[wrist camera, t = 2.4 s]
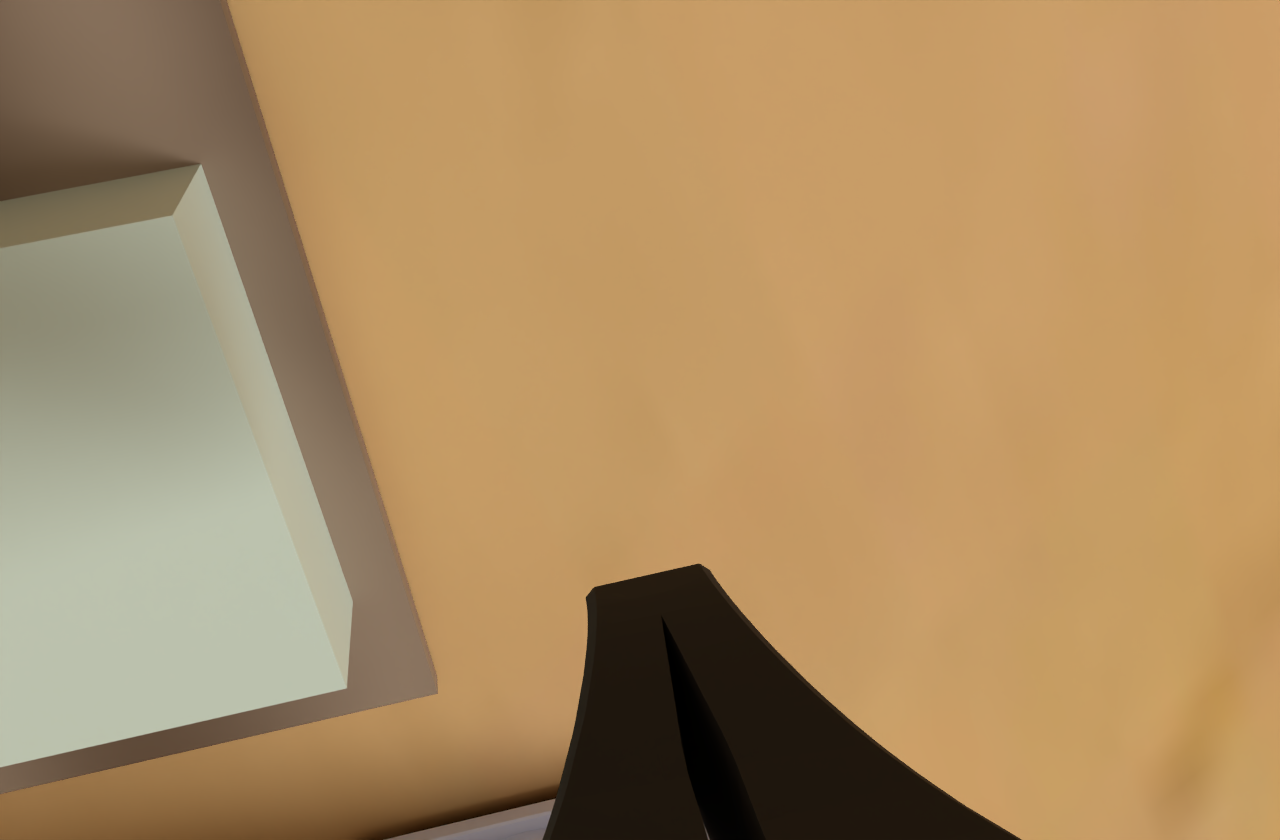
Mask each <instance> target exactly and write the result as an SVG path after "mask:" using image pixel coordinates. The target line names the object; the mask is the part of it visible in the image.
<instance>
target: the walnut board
mask: <svg viewBox="0 0 1280 840" xmlns="http://www.w3.org/2000/svg"><path fill="white" fill-rule="evenodd" d="M196 164H201V165H202V168H203V171H204V174H205V177H206V179H207V182H208V185H209V188H210V191H211V194H212V197H213V200H214V203H215V205H216V208H217V211H218V214H219V217H220V220H221V223H222V226H223V228H224V231H225V234H226V237H227V240H228V243H229V246H230V249H231V252H232V254H233V257H234V260H235V263H236V266H237V269H238V272H239V275H240V278H241V280H242V283H243V286H244V289H245V292H246V295H247V298H248V301H249V303H250V306H251V309H252V312H253V315H254V318H255V321H256V324H257V327H258V329H259V332H260V335H261V338H262V341H263V344H264V347H265V350H266V353H267V355H268V358H269V361H270V364H271V367H272V370H273V373H274V376H275V378H276V381H277V384H278V387H279V390H280V393H281V396H282V399H283V402H284V404H285V407H286V410H287V413H288V416H289V419H290V422H291V425H292V427H293V430H294V433H295V436H296V439H297V442H298V445H299V448H300V451H301V453H302V456H303V459H304V462H305V465H306V468H307V471H308V474H309V477H310V479H311V482H312V485H313V488H314V491H315V494H316V497H317V500H318V502H319V505H320V508H321V511H322V514H323V517H324V520H325V523H326V526H327V528H328V531H329V534H330V537H331V540H332V543H333V546H334V549H335V552H336V554H337V557H338V560H339V563H340V566H341V569H342V572H343V575H344V577H345V580H346V583H347V586H348V589H349V592H350V595H351V598H352V601H353V607H352V622H351V636H350V650H349V665H348V679H347V688H346V689H342V690H338V691H333V692H329V693H324V694H320V695H316V696H311V697H307V698H302V699H298V700H294V701H289V702H285V703H280V704H276V705H272V706H267V707H263V708H259V709H254V710H250V711H245V712H241V713H237V714H232V715H228V716H223V717H219V718H215V719H210V720H206V721H201V722H197V723H193V724H188V725H184V726H180V727H175V728H171V729H166V730H162V731H158V732H153V733H149V734H144V735H140V736H136V737H131V738H127V739H122V740H118V741H114V742H109V743H105V744H101V745H96V746H92V747H87V748H83V749H79V750H74V751H70V752H65V753H61V754H57V755H52V756H48V757H43V758H39V759H35V760H30V761H26V762H22V763H17V764H13V765H8V766H4V767H0V794H3V793H7V792H11V791H16V790H20V789H24V788H29V787H33V786H37V785H42V784H46V783H50V782H55V781H59V780H64V779H68V778H72V777H77V776H81V775H85V774H90V773H94V772H98V771H103V770H107V769H111V768H116V767H120V766H124V765H129V764H133V763H138V762H142V761H146V760H151V759H155V758H159V757H164V756H168V755H172V754H177V753H181V752H185V751H190V750H194V749H198V748H203V747H207V746H212V745H216V744H220V743H225V742H229V741H233V740H238V739H242V738H246V737H251V736H255V735H259V734H264V733H268V732H272V731H277V730H281V729H286V728H290V727H294V726H299V725H303V724H307V723H312V722H316V721H320V720H325V719H329V718H333V717H338V716H342V715H346V714H351V713H355V712H360V711H364V710H368V709H373V708H377V707H381V706H386V705H390V704H394V703H399V702H403V701H407V700H412V699H416V698H421V697H425V696H429V695H434V694H438V687H437V675H436V671H435V668H434V665H433V662H432V659H431V655H430V652H429V649H428V646H427V642H426V639H425V636H424V633H423V630H422V626H421V623H420V620H419V617H418V614H417V610H416V607H415V604H414V601H413V598H412V594H411V591H410V588H409V585H408V581H407V578H406V575H405V572H404V569H403V565H402V562H401V559H400V556H399V553H398V549H397V546H396V543H395V540H394V537H393V533H392V530H391V527H390V524H389V520H388V517H387V514H386V511H385V508H384V504H383V501H382V498H381V495H380V492H379V488H378V485H377V482H376V479H375V476H374V472H373V469H372V466H371V463H370V459H369V456H368V453H367V450H366V447H365V443H364V440H363V437H362V434H361V431H360V427H359V424H358V421H357V418H356V415H355V411H354V408H353V405H352V402H351V398H350V395H349V392H348V389H347V386H346V382H345V379H344V376H343V373H342V370H341V366H340V363H339V360H338V357H337V353H336V350H335V347H334V344H333V341H332V337H331V334H330V331H329V328H328V325H327V321H326V318H325V315H324V312H323V309H322V305H321V302H320V299H319V296H318V292H317V289H316V286H315V283H314V280H313V276H312V273H311V270H310V267H309V264H308V260H307V257H306V254H305V251H304V248H303V244H302V241H301V238H300V235H299V231H298V228H297V225H296V222H295V219H294V215H293V212H292V209H291V206H290V203H289V199H288V196H287V193H286V190H285V187H284V183H283V180H282V177H281V174H280V170H279V167H278V164H277V161H276V158H275V154H274V151H273V148H272V145H271V142H270V138H269V135H268V132H267V129H266V126H265V122H264V119H263V116H262V113H261V109H260V106H259V103H258V100H257V97H256V93H255V90H254V87H253V84H252V81H251V77H250V74H249V71H248V68H247V64H246V61H245V58H244V55H243V52H242V48H241V45H240V42H239V39H238V36H237V32H236V29H235V26H234V23H233V20H232V16H231V13H230V10H229V7H228V3H227V0H0V201H5V200H10V199H15V198H20V197H26V196H31V195H36V194H42V193H47V192H52V191H58V190H63V189H68V188H74V187H79V186H84V185H90V184H95V183H100V182H106V181H111V180H116V179H122V178H127V177H132V176H138V175H143V174H148V173H154V172H159V171H164V170H170V169H175V168H180V167H185V166H191V165H196Z"/></svg>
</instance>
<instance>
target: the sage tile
mask: <svg viewBox="0 0 1280 840" xmlns="http://www.w3.org/2000/svg"><path fill="white" fill-rule="evenodd" d="M352 607H353V601H352V598H351V595H350V592H349V589H348V586H347V583H346V580H345V577H344V575H343V572H342V569H341V566H340V563H339V560H338V557H337V554H336V552H335V549H334V546H333V543H332V540H331V537H330V534H329V531H328V528H327V526H326V523H325V520H324V517H323V514H322V511H321V508H320V505H319V502H318V500H317V497H316V494H315V491H314V488H313V485H312V482H311V479H310V477H309V474H308V471H307V468H306V465H305V462H304V459H303V456H302V453H301V451H300V448H299V445H298V442H297V439H296V436H295V433H294V430H293V427H292V425H291V422H290V419H289V416H288V413H287V410H286V407H285V404H284V402H283V399H282V396H281V393H280V390H279V387H278V384H277V381H276V378H275V376H274V373H273V370H272V367H271V364H270V361H269V358H268V355H267V353H266V350H265V347H264V344H263V341H262V338H261V335H260V332H259V329H258V327H257V324H256V321H255V318H254V315H253V312H252V309H251V306H250V303H249V301H248V298H247V295H246V292H245V289H244V286H243V283H242V280H241V278H240V275H239V272H238V269H237V266H236V263H235V260H234V257H233V254H232V252H231V249H230V246H229V243H228V240H227V237H226V234H225V231H224V228H223V226H222V223H221V220H220V217H219V214H218V211H217V208H216V205H215V203H214V200H213V197H212V194H211V191H210V188H209V185H208V182H207V179H206V177H205V174H204V171H203V168H202V165H201V164H196V165H191V166H185V167H180V168H175V169H170V170H164V171H159V172H154V173H148V174H143V175H138V176H132V177H127V178H122V179H116V180H111V181H106V182H100V183H95V184H90V185H84V186H79V187H74V188H68V189H63V190H58V191H52V192H47V193H42V194H36V195H31V196H26V197H20V198H15V199H10V200H5V201H0V767H4V766H8V765H13V764H17V763H22V762H26V761H30V760H35V759H39V758H43V757H48V756H52V755H57V754H61V753H65V752H70V751H74V750H79V749H83V748H87V747H92V746H96V745H101V744H105V743H109V742H114V741H118V740H122V739H127V738H131V737H136V736H140V735H144V734H149V733H153V732H158V731H162V730H166V729H171V728H175V727H180V726H184V725H188V724H193V723H197V722H201V721H206V720H210V719H215V718H219V717H223V716H228V715H232V714H237V713H241V712H245V711H250V710H254V709H259V708H263V707H267V706H272V705H276V704H280V703H285V702H289V701H294V700H298V699H302V698H307V697H311V696H316V695H320V694H324V693H329V692H333V691H338V690H342V689H346V688H347V679H348V665H349V650H350V636H351V622H352Z"/></svg>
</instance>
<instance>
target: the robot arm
mask: <svg viewBox="0 0 1280 840" xmlns="http://www.w3.org/2000/svg"><path fill="white" fill-rule="evenodd" d="M586 602H587V610H588V637H587V650H586V659H585V668H584V676H583V682H582V687H581V693H580V699H579V704H578V710H577V716H576V721H575V726H574V731H573V735H572V739H571V743H570V747H569V751H568V755H567V759H566V762H565V766H564V770H563V774H562V778H561V782H560V786H559V789H558V793H557V796H556V799H552V800H548V801H543V802H539V803H535V804H531V805H527V806H522V807H518V808H514V809H510V810H506V811H502V812H497V813H493V814H489V815H485V816H481V817H477V818H472V819H468V820H464V821H460V822H456V823H451V824H447V825H443V826H439V827H435V828H431V829H426V830H422V831H418V832H414V833H410V834H406V835H401V836H397V837H393V838H389V839H385V840H1021V839H1020V838H1018V837H1016V836H1015V835H1013V834H1011V833H1010V832H1008V831H1006V830H1005V829H1003V828H1001V827H1000V826H998V825H996V824H995V823H993V822H991V821H990V820H988V819H986V818H985V817H983V816H981V815H980V814H978V813H976V812H975V811H973V810H971V809H970V808H968V807H966V806H965V805H963V804H962V803H960V802H959V801H957V800H956V799H954V798H953V797H951V796H950V795H948V794H947V793H946V792H944V791H943V790H941V789H940V788H938V787H937V786H935V785H934V784H932V783H931V782H930V781H928V780H927V779H925V778H924V777H922V776H921V775H920V774H918V773H917V772H915V771H914V770H913V769H911V768H910V767H909V766H907V765H906V764H905V763H903V762H902V761H901V760H899V759H898V758H897V757H895V756H894V755H893V754H891V753H890V752H889V751H887V750H886V749H885V748H884V747H882V746H881V745H880V744H879V743H877V742H876V741H875V740H873V739H872V738H871V737H870V736H869V735H867V734H866V733H865V732H864V731H863V730H861V729H860V728H859V727H858V726H856V725H855V724H854V723H853V722H852V721H851V720H850V719H848V718H847V717H846V716H845V715H844V714H843V713H842V712H840V711H839V710H838V709H837V708H836V707H835V706H834V705H832V704H831V703H830V702H829V701H828V700H827V699H826V698H825V697H824V696H822V695H821V694H820V693H819V692H818V691H817V690H816V689H815V688H814V687H813V686H812V685H811V684H810V683H809V682H807V681H806V680H805V679H804V678H803V677H802V676H801V675H800V674H799V673H798V672H797V671H796V670H795V669H794V668H793V667H792V666H791V665H790V664H789V663H788V662H787V661H786V660H785V659H784V658H783V657H782V656H781V655H780V654H779V653H778V652H777V651H776V650H775V649H774V647H773V646H772V645H771V644H770V643H769V642H768V641H767V640H766V639H765V638H764V637H763V636H762V635H761V634H760V632H759V631H758V630H757V629H756V628H755V627H754V626H753V625H752V623H751V622H750V621H749V620H748V619H747V618H746V617H745V615H744V614H743V613H742V612H741V611H740V610H739V608H738V607H737V606H736V605H735V604H734V602H733V601H732V600H731V599H730V597H729V596H728V595H727V594H726V592H725V591H724V590H723V588H722V587H721V586H720V584H719V583H718V582H717V580H716V579H715V577H714V576H713V574H712V573H711V571H710V570H709V569H707V568H706V567H704V566H702V565H701V564H695V565H691V566H686V567H682V568H677V569H673V570H668V571H664V572H660V573H655V574H651V575H646V576H642V577H637V578H633V579H628V580H624V581H619V582H615V583H611V584H606V585H602V586H597V587H594V588H593V589H592V590H591V592H590V593H589V594H588V595H587V597H586Z"/></svg>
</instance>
